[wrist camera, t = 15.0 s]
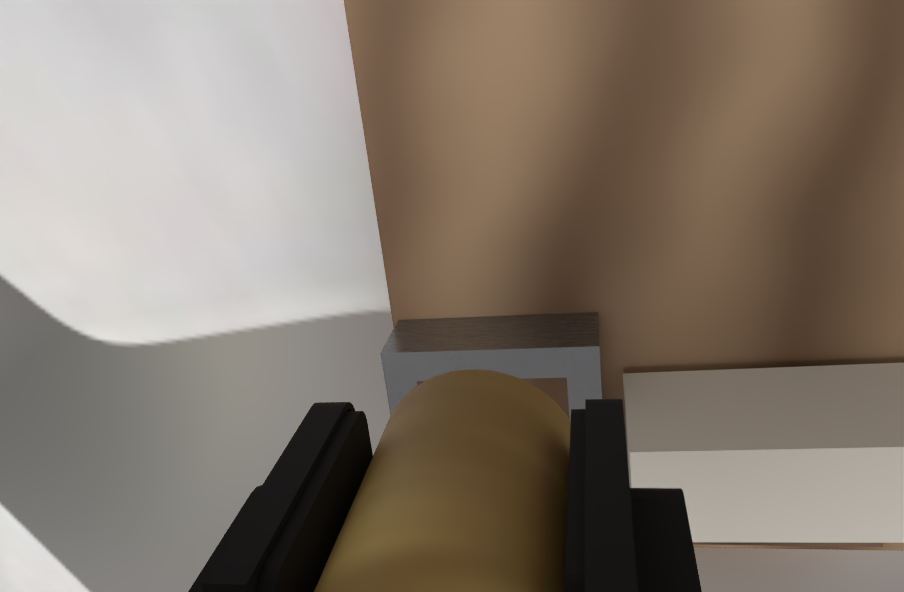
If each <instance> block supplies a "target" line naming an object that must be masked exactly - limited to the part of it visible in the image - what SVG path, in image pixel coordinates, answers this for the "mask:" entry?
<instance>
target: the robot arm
mask: <svg viewBox="0 0 904 592" xmlns="http://www.w3.org/2000/svg"><path fill="white" fill-rule="evenodd" d="M372 458H373V455H372V448H371V442H370V436H369V430H368V424H367V419H366V416H365V414H364V412H363V411H355V409H354V407H353V405H352V404H351V403H350V402H336V403H334V402H331V403H314V404H313V406H312V407H311V408H310V410H309V412H308V413H307V415H306V416H305V418H304V420H303V421H302V423H301V425H300V426H299V428H298V429H297V431H296V432H295V434H294V436H293V437H292V439H291V440H290V442H289V444H288V445H287V447H286V448H285V450H284V452H283V453H282V455H281V456H280V458H279V460H278V461H277V463H276V464H275V466H274V468H273V469H272V471H271V472H270V474H269V476H268V477H267V479H266V480H265V482H264V483H263V485H261V486H258V487H256V488H255V489H254V491H253V492H252V493H251V494H250V496H249V498H248V499H247V501H246V502H245V504H244V505H243V507H242V508H241V510H240V512H239V513H238V515H237V516H236V518H235V520H234V521H233V523H232V524H231V526H230V527H229V529H228V530H227V532H226V533H225V535H224V537H223V538H222V540H221V541H220V543H219V545H218V546H217V548H216V549H215V551H214V552H213V554H212V556H211V557H210V559H209V560H208V562H207V563H206V565H205V567H204V568H203V570H202V571H201V573H200V574H199V576H198V577H197V579H196V581H195V582H194V584H193V585H192V587H191V589H190V590H189V592H314V590H315V588H316V586H317V583H318V581H319V579H320V577H321V574H322V572H323V570H324V567H325V565H326V563H327V561H328V558H329V556H330V554H331V551H332V549H333V547H334V545H335V542H336V540H337V538H338V535H339V533H340V531H341V529H342V526H343V524H344V522H345V519H346V517H347V515H348V513H349V510H350V508H351V506H352V503H353V501H354V499H355V496H356V494H357V492H358V490H359V487H360V485H361V483H362V480H363V478H364V476H365V474H366V471H367V469H368V467H369V464H370V462H371V460H372ZM565 592H702V591H701V586H700V580H699V575H698V569H697V564H696V558H695V553H694V547H693V542H692V536H691V531H690V525H689V520H688V515H687V509H686V504H685V498H684V494H683V490H682V489H681V488H630V485H629V472H628V460H627V448H626V435H625V423H624V411H623V399H586V400H585V409H571V426H570V454H569V481H568V508H567V535H566V562H565Z"/></svg>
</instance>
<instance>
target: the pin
mask: <svg viewBox="0 0 904 592" xmlns="http://www.w3.org/2000/svg"><path fill="white" fill-rule="evenodd" d="M570 426H571V421H570V419H569V418H568V416H567V415H566V413H565V412H564V411H563V410H562V409H561V407H560V406H559V405H558V404H557V403H556V402H555V401H554V400H553V399H552V398H551V397H549V396H548V395H547V394H546V393H544V392H543V391H542V390H540V389H539V388H537V387H536V386H534V385H532V384H530V383H528V382H526V381H524V380H522V379H519V378H517V377H515V376H512V375H508V374H505V373H501V372H496V371H490V370H478V369H469V370H458V371H453V372H448V373H444V374H441V375H438V376H435V377H432V378H430V379H428V380H426V381H424V382H422V383H421V384H419V385H418V386H416V387H415V388H413V389H412V390H411V391H410V392H409V393H408V394H407V395H405V396H404V397H403V399H402V400H401V401H400V402H399V403H398V405H397V406H396V408H395V409H394V411H393V413H392V414H391V416H390V419H389V421H388V423H387V426H386V428H385V430H384V432H383V435H382V437H381V439H380V442H379V444H378V446H377V448H376V451H375V453H374V455H373V458H372V460H371V462H370V464H369V467H368V469H367V471H366V474H365V476H364V478H363V480H362V483H361V485H360V487H359V490H358V492H357V494H356V496H355V499H354V501H353V503H352V506H351V508H350V510H349V513H348V515H347V517H346V519H345V522H344V524H343V526H342V529H341V531H340V533H339V535H338V538H337V540H336V542H335V545H334V547H333V549H332V551H331V554H330V556H329V558H328V561H327V563H326V565H325V567H324V570H323V572H322V574H321V577H320V579H319V581H318V583H317V586H316V588H315V590H314V592H565V562H566V535H567V508H568V481H569V454H570Z"/></svg>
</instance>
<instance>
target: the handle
mask: <svg viewBox="0 0 904 592" xmlns="http://www.w3.org/2000/svg"><path fill="white" fill-rule="evenodd" d="M623 391H624V410H625V429H626V448H627V460H628V472H629V485H630V488H681V489H682V490H683V494H684V498H685V504H686V509H687V515H688V520H689V525H690V531H691V536H692V542H793V543H904V363H880V364H854V365H828V366H802V367H776V368H750V369H724V370H699V371H673V372H647V373H623Z"/></svg>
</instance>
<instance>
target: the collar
mask: <svg viewBox="0 0 904 592" xmlns="http://www.w3.org/2000/svg"><path fill="white" fill-rule="evenodd" d="M381 358H382V365H383V371H384V377H385V383H386V389H387V396H388V402H389V408H390V414H392V413H393V411H394V409H395V408H396V406H397V405H398V403H399V402H400V401H401V400H402V399H403V397H404V396H405V395H407V394H408V393H409V392H410V391H411V390H412V389H413V388H415V387H416V386H418V385H419V384H421V383H422V382H424V381H426V380H428V379H430V378H432V377H435V376H438V375H441V374H444V373H448V372H453V371H458V370H469V369H478V370H490V371H496V372H501V373H505V374H508V375H512V376H515V377H517V378H519V379H528V378H567V388H568V403H569V418H570V421H571V409H585V400H586V399H602V381H601V359H600V338H599V316H598V312H582V313H557V314H532V315H507V316H482V317H457V318H432V319H406V320H398V322H397V323H396V325H395V327H394V329H393V331H392V333H391V335H390V337H389V338H388V340H387V343H386V344H385V346H384V348H383V350H382V352H381Z"/></svg>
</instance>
